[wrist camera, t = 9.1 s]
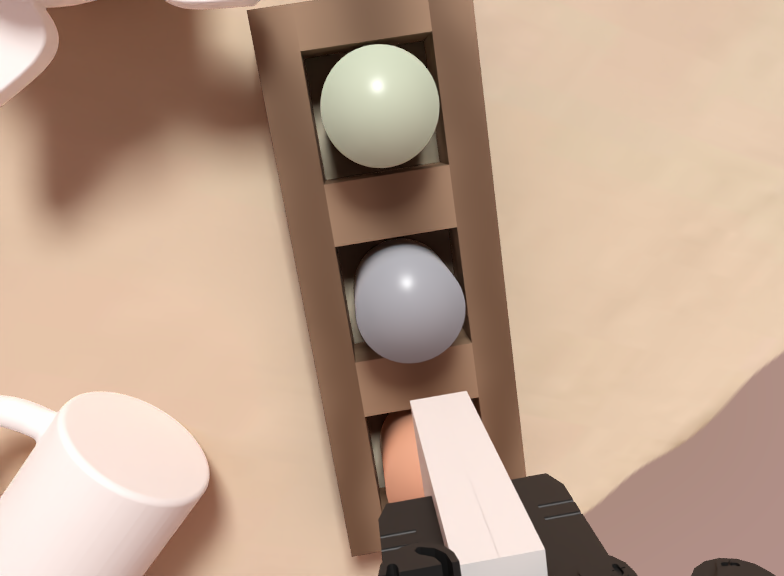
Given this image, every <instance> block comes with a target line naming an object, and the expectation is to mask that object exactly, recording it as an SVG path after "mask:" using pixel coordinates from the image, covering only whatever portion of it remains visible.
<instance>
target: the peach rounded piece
mask: <svg viewBox="0 0 784 576" xmlns="http://www.w3.org/2000/svg"><path fill="white" fill-rule="evenodd" d="M380 444H381V453H382V461H383V469H384V477H385V486H386V494H387V499H388V502H389V503H393V502H399V501H405V500H410V499H416V498H421V497H425V495H424V489H423V483H422V476H421V470H420V463H419V457H418V450H417V444H416V437H415V431H414V424H413V418H412V411H411V409H408V410H402V411H396V412H390V413H389V415H388V416H387V418H386V419H385V421H384V423H383V426H382V429H381V433H380Z"/></svg>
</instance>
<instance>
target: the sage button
mask: <svg viewBox="0 0 784 576" xmlns="http://www.w3.org/2000/svg"><path fill="white" fill-rule="evenodd" d="M320 110H321V118H322V122H323V125H324V128H325V131H326V133H327V135H328V137H329V139H330V140H331V142H332V143H333V144H334V146H335V147H336V148H337V149H338V150H339V151H340V152H341V153H342V154H343V155H344V156H346V157H347V158H349V159H350V160H352V161H354V162H356V163H358V164H361V165H364V166H367V167H373V168H388V167H393V166H397V165H400V164H402V163H405V162H407V161H409V160H410V159H412V158H413V157H415V156H416V155H417V154H418V153H419V152H421V151H422V150H423V149H424V147H425V146H426V145H427V144H428V142H429V141H430V139H431V137H432V135H433V133H434V131H435V129H436V125H437V122H438V117H439V96H438V91H437V88H436V85H435V82H434V80H433V78H432V76H431V74H430V72H429V71H428V69H427V68H426V67H425V66H424V64H423V63H422V62H421V61H420V60H419V59H418V58H416V57H415V56H414V55H412V54H411V53H409V52H407V51H405V50H403V49H401V48H398V47H395V46H391V45H384V44H375V45H368V46H363V47H361V48H358V49H355V50H354V51H352V52H350V53H348V54H347V55H345V56H344V57H343V58H342V59H341V60H339V61H338V62H337V63H336V65H335V66H334V67H333V68H332V70H331V71H330V73H329V75H328V76H327V78H326V81H325V83H324V86H323V90H322V94H321V102H320Z"/></svg>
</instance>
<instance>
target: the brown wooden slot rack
mask: <svg viewBox="0 0 784 576" xmlns="http://www.w3.org/2000/svg"><path fill="white" fill-rule="evenodd" d="M247 14H248V19H249V25H250V30H251V35H252V40H253V45H254V50H255V56H256V61H257V66H258V71H259V76H260V82H261V87H262V92H263V97H264V102H265V108H266V113H267V118H268V123H269V128H270V134H271V139H272V144H273V149H274V154H275V159H276V165H277V170H278V175H279V180H280V185H281V191H282V196H283V201H284V206H285V211H286V217H287V222H288V227H289V232H290V237H291V242H292V248H293V253H294V258H295V263H296V268H297V274H298V279H299V284H300V289H301V294H302V300H303V305H304V310H305V315H306V320H307V326H308V331H309V336H310V341H311V346H312V351H313V357H314V362H315V367H316V372H317V377H318V383H319V388H320V393H321V398H322V403H323V409H324V414H325V419H326V424H327V429H328V434H329V440H330V445H331V450H332V455H333V460H334V466H335V471H336V476H337V481H338V486H339V492H340V497H341V502H342V507H343V512H344V518H345V523H346V528H347V533H348V538H349V543H350V549H351V554H352V557H353V556H358V555H364V554H369V553H375V552H381V542H380V532H379V522H378V519H379V517H380V515H381V513H382V511H383V509H384V507H385V505H386V504H388V503H389V502H388V499H387V494H386V487H384V488H379V483H378V477H377V471H376V465H375V460H374V454H373V448H372V443H371V437H370V431H369V426H368V420H367V416H373V415H379V414H384V413H390V412H396V411H402V410H408V409H411V405H410V401H411V400H417V399H422V398H428V397H434V396H440V395H446V394H451V393H457V392H463V391H467V393H468V395H469V397H470V399H471V401H472V403H473V405H474V407H475V409H476V411H477V413H478V415H479V417H480V419H481V421H482V423H483V425H484V427H485V429H486V431H487V433H488V435H489V437H490V439H491V441H492V443H493V445H494V447H495V449H496V451H497V453H498V455H499V457H500V459H501V461H502V463H503V465H504V467H505V470H506V472H507V474H508V476H509V478H510V480H512V479H517V478H523V477H526V471H525V462H524V453H523V444H522V435H521V426H520V417H519V408H518V399H517V390H516V381H515V372H514V363H513V354H512V345H511V336H510V327H509V318H508V310H507V301H506V292H505V283H504V274H503V265H502V256H501V247H500V238H499V229H498V220H497V211H496V202H495V193H494V184H493V175H492V166H491V157H490V148H489V139H488V130H487V122H486V113H485V104H484V95H483V86H482V77H481V68H480V59H479V50H478V41H477V32H476V23H475V14H474V5H473V0H313V1H306V2H299V3H293V4H286V5H279V6H272V7H266V8H259V9H252V10H247ZM417 41H424V44H425V52H426V60H427V67H428V71H429V72H430V74H431V76H432V78H433V80H434V82H435V85H436V88H437V91H438V96H439V117H438V122H437V125H436V136H437V144H438V151H439V159H440V162H437V163H431V164H425V165H419V166H412V167H406V168H400V169H393V170H387V171H381V172H375V173H368V174H362V175H356V176H349V177H343V178H337V179H331V180H325V174H324V169H323V163H322V157H321V152H320V146H319V140H318V135H317V129H316V123H315V117H314V112H313V106H312V100H311V95H310V89H309V83H308V77H307V72H306V66H305V60H304V59H305V58H312V57H319V56H325V55H332V54H338V53H345V52H351V51H354V50H355V49H358V48H361V47H363V46H368V45H375V44H384V45H398V44H404V43H411V42H417ZM448 228H449V235H450V243H451V250H452V258H453V266H454V273H455V279H456V280H457V281H458V283H459V285H460V287H461V289H462V292H463V295H464V299H465V318H464V323H463V326H462V329H461V331H460V333H459V335H458V336H457V338H456V339H455V341H454V342H453V343H452V344H451V346H450V347H449V348H447V349H446V350H445V351H444V352H443V353H441V354H440V355H438V356H436V357H434V358H432V359H430V360H427V361H423V362H419V363H400V362H395V361H391V360H389V359H386V358H384V357H382V356H381V355H379V354H378V353H376V352H375V351H374V350H373V349H372V348H371V347H370V346H369V345H368V344H367V343H366V342H362V343H356V344H354V340H353V334H352V329H351V323H350V317H349V311H348V306H347V300H346V294H345V289H344V283H343V277H342V271H341V266H340V260H339V254H338V249H337V247H338V246H344V245H350V244H356V243H363V242H369V241H375V240H381V239H387V238H393V237H399V236H406V235H412V234H418V233H424V232H430V231H436V230H442V229H448Z"/></svg>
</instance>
